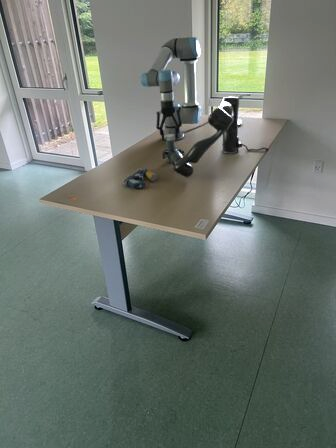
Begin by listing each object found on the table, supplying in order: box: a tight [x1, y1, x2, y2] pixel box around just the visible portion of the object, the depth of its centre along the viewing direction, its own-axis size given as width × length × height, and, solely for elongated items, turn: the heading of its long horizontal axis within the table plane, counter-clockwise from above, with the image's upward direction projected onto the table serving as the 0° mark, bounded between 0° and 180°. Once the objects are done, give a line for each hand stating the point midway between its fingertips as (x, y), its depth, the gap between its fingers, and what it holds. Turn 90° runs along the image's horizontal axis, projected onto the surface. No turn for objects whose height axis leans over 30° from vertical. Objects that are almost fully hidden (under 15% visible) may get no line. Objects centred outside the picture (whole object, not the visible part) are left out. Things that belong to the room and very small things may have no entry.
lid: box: [164, 134, 175, 141], centre depth 201 cm, size 6×6×2 cm
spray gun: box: [123, 167, 158, 189], centre depth 183 cm, size 21×4×15 cm
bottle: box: [165, 140, 176, 163], centre depth 205 cm, size 5×5×15 cm
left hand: (170, 139), depth 202 cm, fingers open, 8 cm apart
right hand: (170, 149), depth 208 cm, fingers closed on bottle, 5 cm apart
